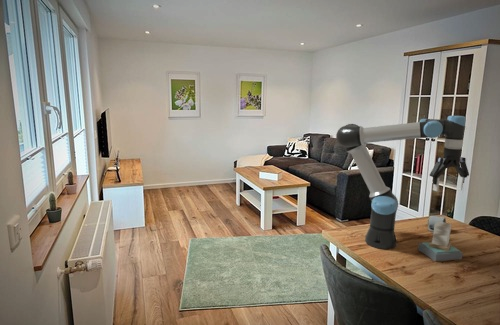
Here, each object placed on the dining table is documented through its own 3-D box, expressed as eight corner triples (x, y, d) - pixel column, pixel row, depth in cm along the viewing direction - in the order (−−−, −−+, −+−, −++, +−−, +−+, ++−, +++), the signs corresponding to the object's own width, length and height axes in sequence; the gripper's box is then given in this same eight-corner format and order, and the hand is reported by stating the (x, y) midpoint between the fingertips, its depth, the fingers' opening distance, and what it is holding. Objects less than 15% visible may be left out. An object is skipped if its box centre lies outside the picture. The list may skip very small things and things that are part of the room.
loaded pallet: (428, 246, 156) (431, 224, 154) (432, 241, 162) (435, 219, 160) (448, 251, 151) (451, 228, 149) (451, 246, 157) (454, 223, 155)
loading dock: (435, 261, 150) (436, 253, 150) (417, 249, 162) (418, 242, 161) (461, 259, 153) (462, 251, 152) (442, 247, 165) (443, 240, 164)
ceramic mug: (429, 225, 194) (431, 212, 192) (445, 228, 189) (446, 216, 187) (424, 230, 186) (426, 217, 185) (440, 234, 181) (442, 221, 179)
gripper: (468, 146, 165) (463, 187, 169) (424, 147, 161) (419, 188, 165) (481, 148, 158) (475, 191, 162) (435, 149, 153) (430, 193, 157)
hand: (447, 190), depth 163 cm, fingers open, 13 cm apart
